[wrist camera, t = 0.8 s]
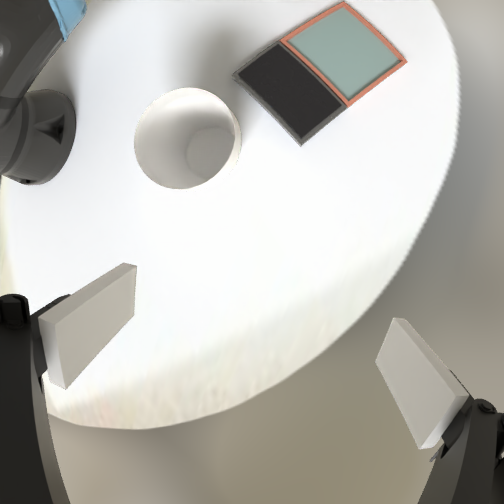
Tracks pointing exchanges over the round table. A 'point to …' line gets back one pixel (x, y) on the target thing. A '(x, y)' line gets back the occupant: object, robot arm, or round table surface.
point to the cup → (187, 140)
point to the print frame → (344, 52)
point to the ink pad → (289, 92)
